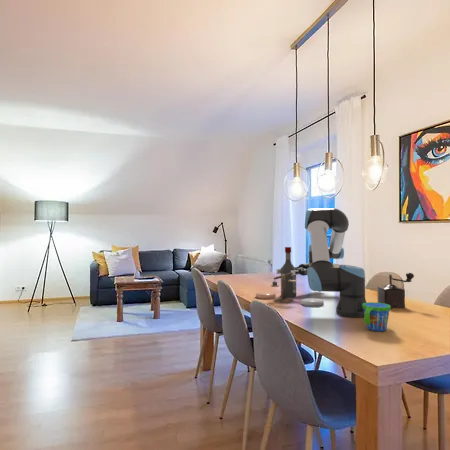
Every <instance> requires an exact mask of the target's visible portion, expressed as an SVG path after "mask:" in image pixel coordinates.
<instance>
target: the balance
mask: <svg viewBox="0 0 450 450" xmlns="http://www.w3.org/2000/svg"><path fill="white" fill-rule="evenodd" d="M289 275H292V280H288V282H296V283H297V279H296V280H293V273H289V274H282V276H281V275H278V276H274V277H273V279H274V281H272V284H271V285H270V287H273V288H278V287H279V286H280V285H279V284H278V281H276V280H278V279H281V278H282V297H281V296H279V297H276V298H273V302H277V303H283V304H284V303H285V304H290V303H292V302H294V298H285V277H286V276H289Z"/></svg>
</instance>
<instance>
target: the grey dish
mask: <svg viewBox="0 0 450 450" xmlns="http://www.w3.org/2000/svg"><path fill="white" fill-rule="evenodd" d="M324 302H325V301H324V300H323V299H321V298H313V297H311V298H308V297H307V298H302V299H301V300H300V303H301V304H300V305H301V306H304V307H310V308H311V307H312V308H314V307H315V308H316V307H317V308H318V307H324V305H325V304H324Z"/></svg>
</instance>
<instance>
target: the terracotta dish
mask: <svg viewBox="0 0 450 450" xmlns="http://www.w3.org/2000/svg"><path fill="white" fill-rule="evenodd" d="M276 296H277V295H276V293H275V292H271V291H270V292H269V291H260V292H256V293H255V298H256V299H260V300H272V299H273V300H274V299H275V298H277V297H276Z"/></svg>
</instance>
